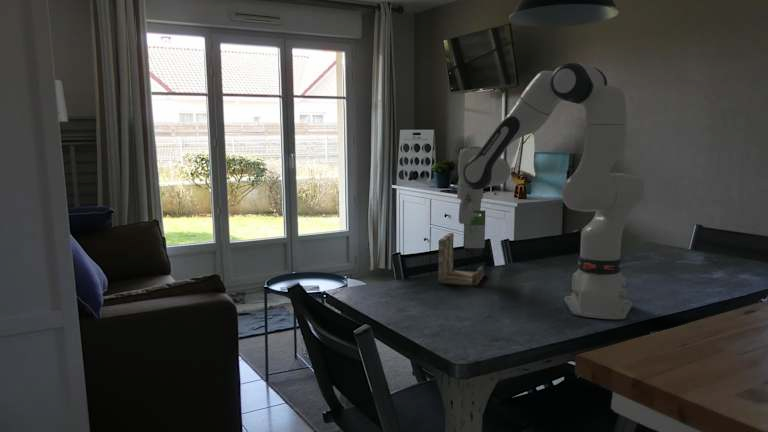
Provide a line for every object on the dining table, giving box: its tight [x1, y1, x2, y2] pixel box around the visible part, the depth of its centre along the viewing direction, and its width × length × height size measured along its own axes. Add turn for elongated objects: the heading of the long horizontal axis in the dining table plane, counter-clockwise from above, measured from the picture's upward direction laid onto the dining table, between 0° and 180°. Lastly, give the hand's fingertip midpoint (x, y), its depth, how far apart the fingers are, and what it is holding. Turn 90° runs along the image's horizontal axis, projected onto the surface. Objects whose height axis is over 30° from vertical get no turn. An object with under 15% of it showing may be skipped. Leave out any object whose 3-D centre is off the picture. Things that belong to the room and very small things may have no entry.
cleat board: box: [437, 232, 485, 287], centre depth 200 cm, size 16×13×15 cm
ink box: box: [462, 209, 486, 249], centre depth 198 cm, size 7×4×13 cm, turn 90°
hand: (469, 232), depth 198 cm, fingers closed on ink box, 5 cm apart
